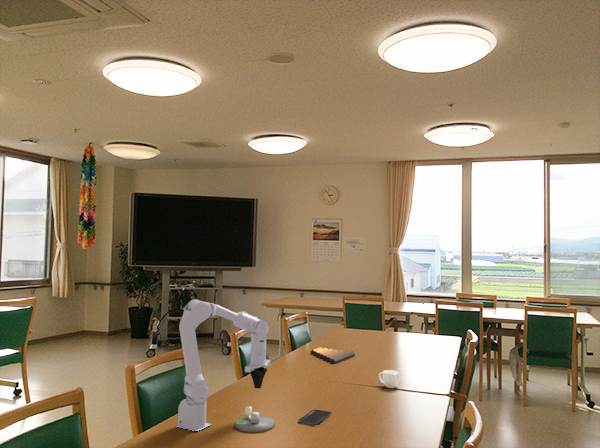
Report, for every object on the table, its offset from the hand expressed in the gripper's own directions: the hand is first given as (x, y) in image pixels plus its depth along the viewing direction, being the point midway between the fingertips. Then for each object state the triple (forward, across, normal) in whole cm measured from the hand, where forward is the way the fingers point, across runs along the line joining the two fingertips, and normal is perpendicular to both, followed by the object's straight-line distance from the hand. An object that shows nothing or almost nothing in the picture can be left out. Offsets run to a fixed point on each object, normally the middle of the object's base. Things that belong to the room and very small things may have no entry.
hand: (257, 387), depth 189 cm
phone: (+11, +9, -20) cm, 25 cm away
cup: (+11, +66, -29) cm, 73 cm away
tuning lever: (+9, -8, -3) cm, 12 cm away
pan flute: (+11, +108, +23) cm, 111 cm away
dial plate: (+10, -9, -5) cm, 15 cm away
